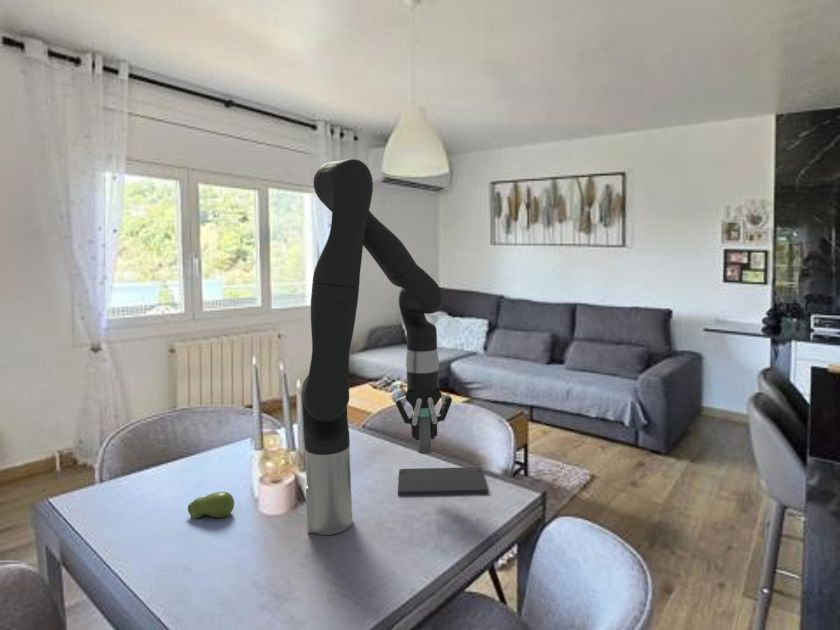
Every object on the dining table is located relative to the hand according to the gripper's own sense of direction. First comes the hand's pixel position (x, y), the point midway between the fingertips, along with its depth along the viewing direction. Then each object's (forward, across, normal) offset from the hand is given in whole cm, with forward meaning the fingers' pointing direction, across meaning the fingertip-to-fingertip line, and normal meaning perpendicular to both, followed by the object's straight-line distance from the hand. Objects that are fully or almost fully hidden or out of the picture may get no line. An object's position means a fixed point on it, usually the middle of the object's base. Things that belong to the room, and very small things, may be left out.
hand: (424, 438), depth 124 cm
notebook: (+14, +4, +3) cm, 15 cm away
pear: (+13, -48, -4) cm, 50 cm away
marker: (+3, 0, 0) cm, 3 cm away
